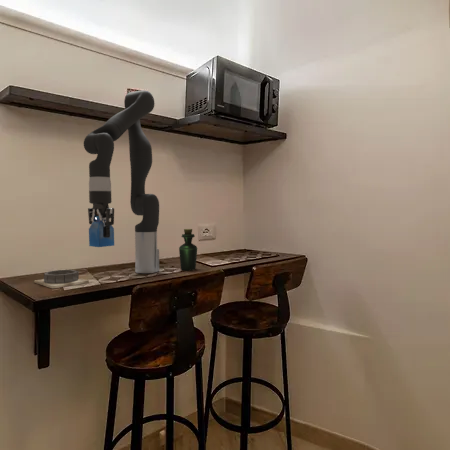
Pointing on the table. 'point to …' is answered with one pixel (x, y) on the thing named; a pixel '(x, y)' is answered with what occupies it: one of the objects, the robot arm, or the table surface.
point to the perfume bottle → (100, 235)
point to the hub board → (81, 281)
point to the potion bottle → (188, 252)
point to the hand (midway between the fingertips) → (101, 236)
